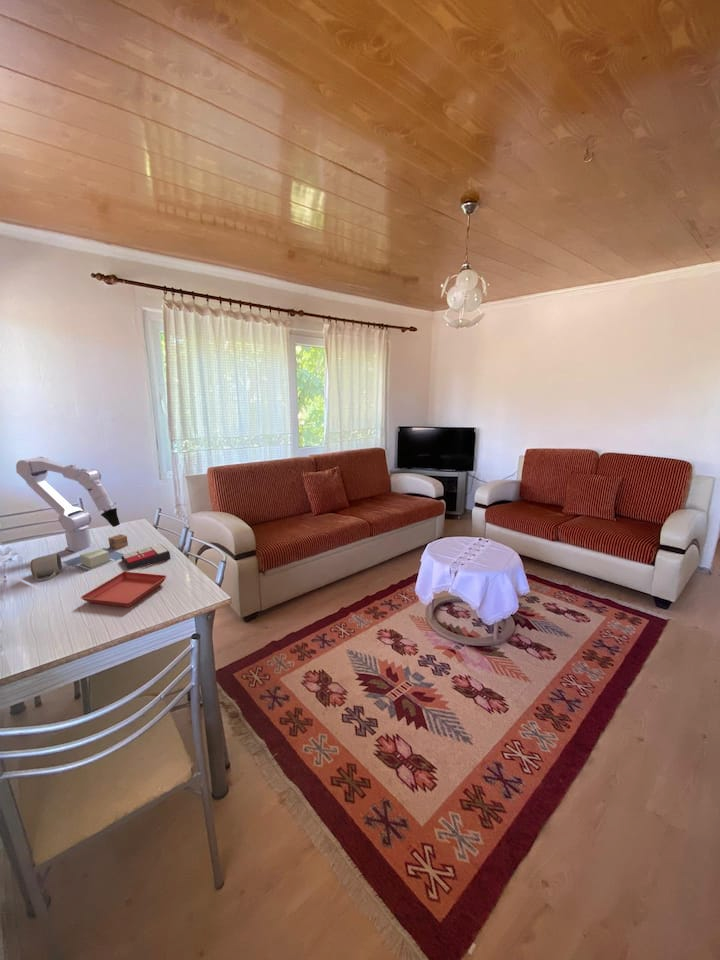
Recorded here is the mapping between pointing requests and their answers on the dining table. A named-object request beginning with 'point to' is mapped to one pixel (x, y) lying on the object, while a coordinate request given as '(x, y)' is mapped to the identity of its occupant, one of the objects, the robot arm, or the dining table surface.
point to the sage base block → (95, 558)
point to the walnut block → (118, 541)
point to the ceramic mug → (46, 566)
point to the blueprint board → (113, 557)
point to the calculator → (146, 556)
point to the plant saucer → (124, 589)
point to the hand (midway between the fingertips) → (116, 525)
